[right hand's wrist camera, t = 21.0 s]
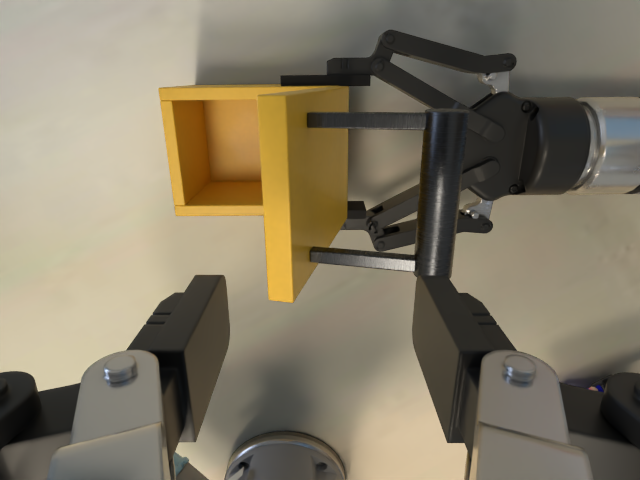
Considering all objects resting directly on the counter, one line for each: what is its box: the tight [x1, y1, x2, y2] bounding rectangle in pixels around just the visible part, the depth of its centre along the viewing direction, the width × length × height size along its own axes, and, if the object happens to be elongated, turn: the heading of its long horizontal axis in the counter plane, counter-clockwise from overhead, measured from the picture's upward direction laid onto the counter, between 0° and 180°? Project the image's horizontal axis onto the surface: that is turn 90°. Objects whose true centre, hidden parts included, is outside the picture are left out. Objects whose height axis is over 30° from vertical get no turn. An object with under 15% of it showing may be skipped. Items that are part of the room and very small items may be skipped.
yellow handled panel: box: [257, 86, 469, 303], centre depth 24 cm, size 14×10×9 cm
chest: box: [159, 84, 330, 216], centre depth 36 cm, size 13×10×9 cm
